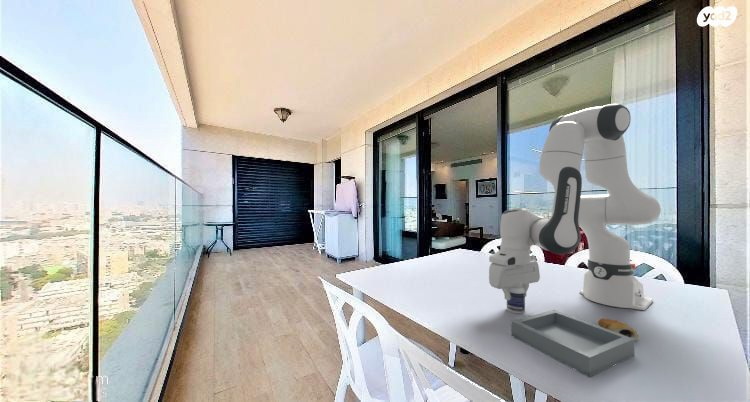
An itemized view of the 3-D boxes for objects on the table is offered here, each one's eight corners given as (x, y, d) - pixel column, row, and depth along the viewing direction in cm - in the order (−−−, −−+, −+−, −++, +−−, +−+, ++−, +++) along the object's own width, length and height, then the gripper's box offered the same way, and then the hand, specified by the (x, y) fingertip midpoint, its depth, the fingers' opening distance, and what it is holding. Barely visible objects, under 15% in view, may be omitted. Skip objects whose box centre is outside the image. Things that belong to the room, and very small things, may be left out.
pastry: (590, 324, 76) (590, 311, 76) (617, 326, 74) (617, 313, 74) (612, 340, 66) (612, 326, 66) (643, 344, 65) (643, 329, 65)
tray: (553, 323, 76) (553, 309, 76) (634, 356, 59) (634, 338, 59) (511, 335, 69) (511, 320, 69) (589, 377, 52) (589, 357, 52)
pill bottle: (527, 314, 82) (527, 284, 82) (509, 313, 83) (509, 283, 83) (521, 307, 87) (521, 279, 87) (504, 306, 88) (504, 278, 88)
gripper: (527, 252, 92) (527, 290, 92) (485, 257, 84) (485, 299, 84) (544, 255, 87) (545, 296, 86) (501, 261, 78) (502, 306, 78)
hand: (515, 298), depth 85 cm, fingers closed on pill bottle, 5 cm apart
